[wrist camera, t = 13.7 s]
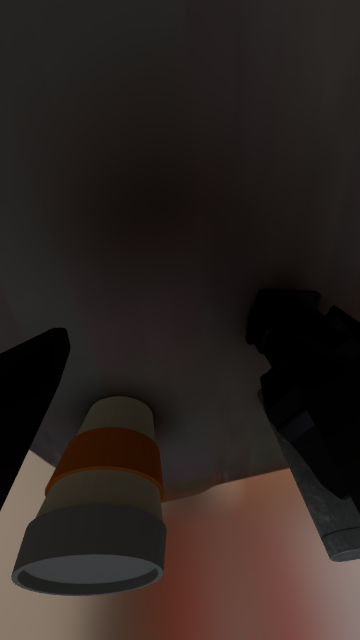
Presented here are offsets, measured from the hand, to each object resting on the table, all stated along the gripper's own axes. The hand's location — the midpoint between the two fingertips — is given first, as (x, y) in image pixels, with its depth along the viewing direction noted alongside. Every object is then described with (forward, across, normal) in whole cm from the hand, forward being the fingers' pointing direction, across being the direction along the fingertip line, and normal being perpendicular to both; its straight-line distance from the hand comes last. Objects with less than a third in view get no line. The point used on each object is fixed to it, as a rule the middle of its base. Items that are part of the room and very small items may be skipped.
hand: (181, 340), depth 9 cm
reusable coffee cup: (+13, +6, +23) cm, 27 cm away
